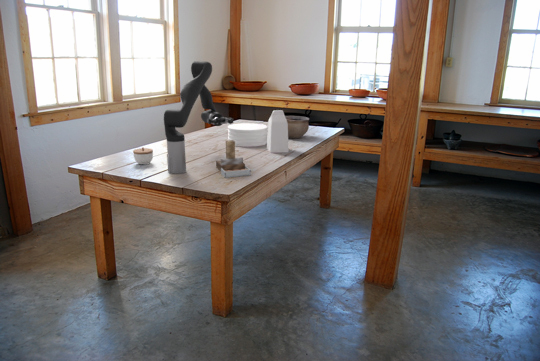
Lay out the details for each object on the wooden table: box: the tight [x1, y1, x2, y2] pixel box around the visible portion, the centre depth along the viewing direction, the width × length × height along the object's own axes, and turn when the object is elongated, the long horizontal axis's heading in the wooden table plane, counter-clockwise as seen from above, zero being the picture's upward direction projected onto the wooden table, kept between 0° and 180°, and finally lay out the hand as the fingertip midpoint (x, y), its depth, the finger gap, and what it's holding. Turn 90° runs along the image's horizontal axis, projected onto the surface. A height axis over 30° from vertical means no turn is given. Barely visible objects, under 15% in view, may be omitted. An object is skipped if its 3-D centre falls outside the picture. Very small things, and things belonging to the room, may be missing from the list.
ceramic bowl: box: [285, 115, 310, 139], centre depth 322 cm, size 22×22×15 cm
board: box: [215, 160, 246, 173], centre depth 236 cm, size 13×12×4 cm
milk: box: [266, 109, 289, 154], centre depth 278 cm, size 12×12×26 cm
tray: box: [220, 165, 252, 178], centre depth 227 cm, size 14×8×3 cm, turn 111°
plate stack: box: [227, 122, 268, 148], centre depth 304 cm, size 28×28×12 cm
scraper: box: [220, 139, 244, 165], centre depth 232 cm, size 12×6×12 cm, turn 111°
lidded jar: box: [132, 146, 154, 165], centre depth 246 cm, size 11×11×9 cm
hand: (223, 122), depth 240 cm, fingers open, 8 cm apart
